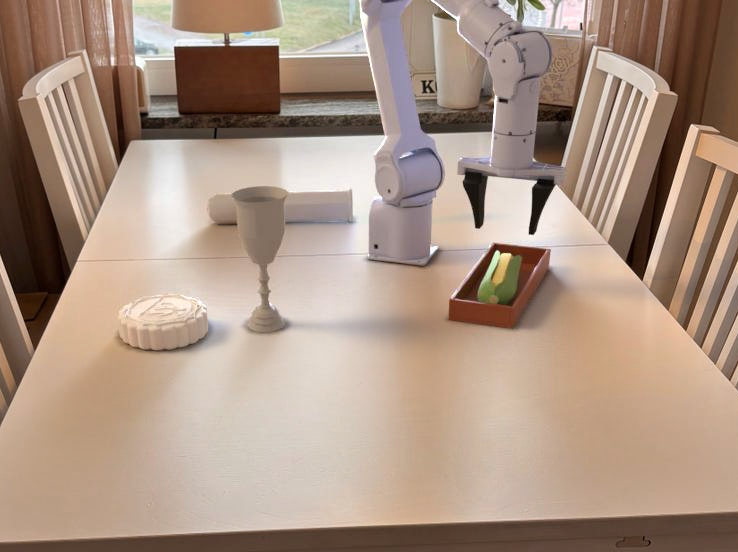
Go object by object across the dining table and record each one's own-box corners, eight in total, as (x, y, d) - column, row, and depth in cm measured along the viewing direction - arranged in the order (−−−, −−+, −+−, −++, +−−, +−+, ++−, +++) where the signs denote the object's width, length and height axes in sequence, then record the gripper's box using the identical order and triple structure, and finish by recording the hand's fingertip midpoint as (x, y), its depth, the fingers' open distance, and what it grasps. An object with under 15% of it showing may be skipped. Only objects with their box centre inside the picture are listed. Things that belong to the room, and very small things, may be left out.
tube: (204, 205, 174) (352, 201, 173) (206, 186, 177) (351, 182, 177) (207, 231, 178) (352, 227, 178) (209, 212, 181) (351, 208, 181)
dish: (448, 319, 142) (449, 299, 140) (491, 261, 161) (492, 242, 159) (512, 328, 139) (514, 308, 138) (548, 268, 158) (550, 248, 156)
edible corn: (473, 316, 142) (475, 284, 139) (491, 265, 158) (493, 236, 155) (511, 319, 140) (514, 288, 138) (525, 267, 157) (528, 238, 154)
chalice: (252, 339, 138) (244, 205, 128) (231, 321, 143) (222, 191, 133) (301, 328, 141) (297, 196, 131) (279, 311, 146) (274, 183, 136)
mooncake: (184, 356, 134) (181, 330, 132) (103, 344, 137) (99, 319, 135) (223, 320, 143) (221, 296, 141) (146, 310, 147) (143, 286, 145)
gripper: (453, 133, 138) (448, 232, 145) (562, 142, 133) (550, 244, 140) (467, 120, 143) (461, 217, 151) (572, 129, 138) (561, 228, 146)
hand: (505, 229), depth 146 cm, fingers open, 7 cm apart
